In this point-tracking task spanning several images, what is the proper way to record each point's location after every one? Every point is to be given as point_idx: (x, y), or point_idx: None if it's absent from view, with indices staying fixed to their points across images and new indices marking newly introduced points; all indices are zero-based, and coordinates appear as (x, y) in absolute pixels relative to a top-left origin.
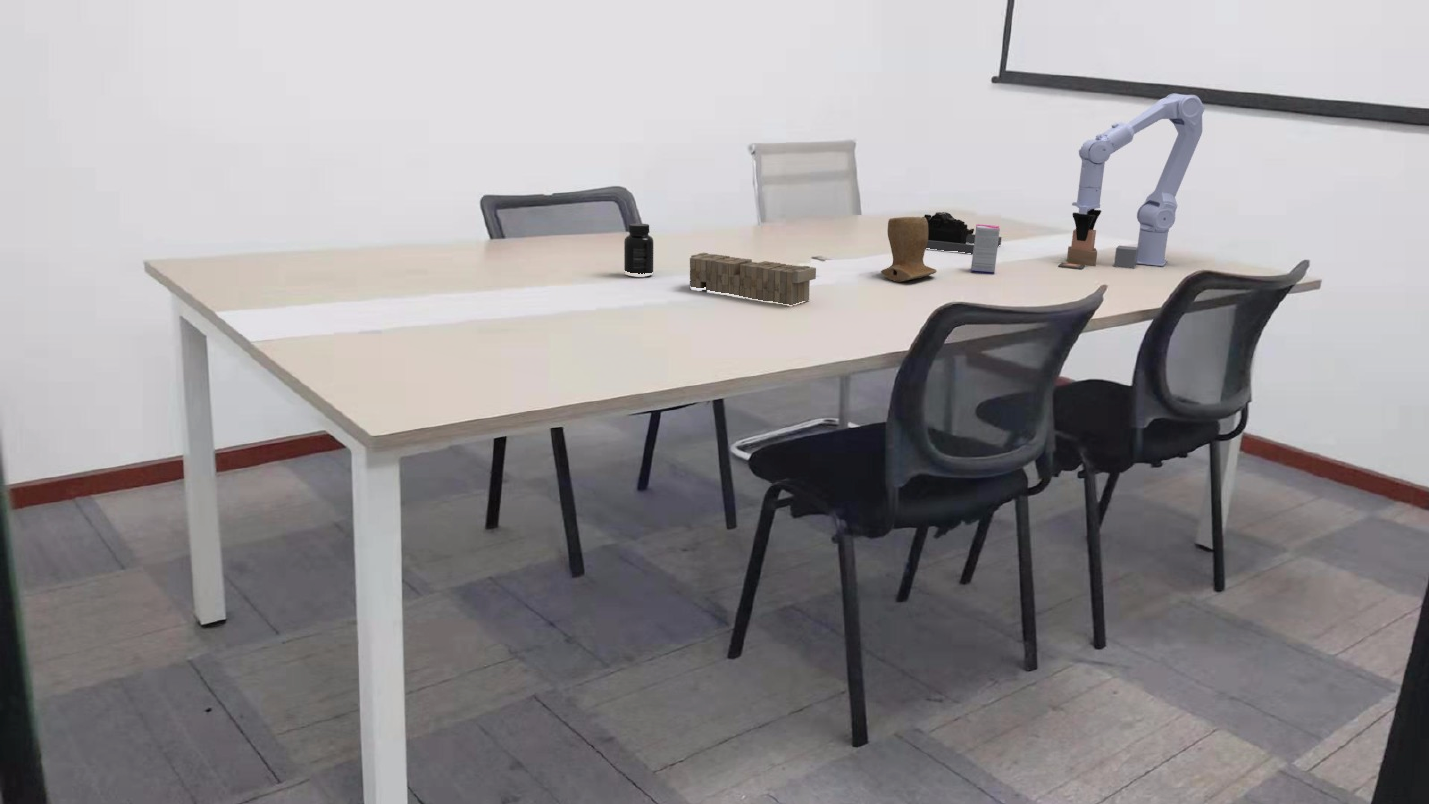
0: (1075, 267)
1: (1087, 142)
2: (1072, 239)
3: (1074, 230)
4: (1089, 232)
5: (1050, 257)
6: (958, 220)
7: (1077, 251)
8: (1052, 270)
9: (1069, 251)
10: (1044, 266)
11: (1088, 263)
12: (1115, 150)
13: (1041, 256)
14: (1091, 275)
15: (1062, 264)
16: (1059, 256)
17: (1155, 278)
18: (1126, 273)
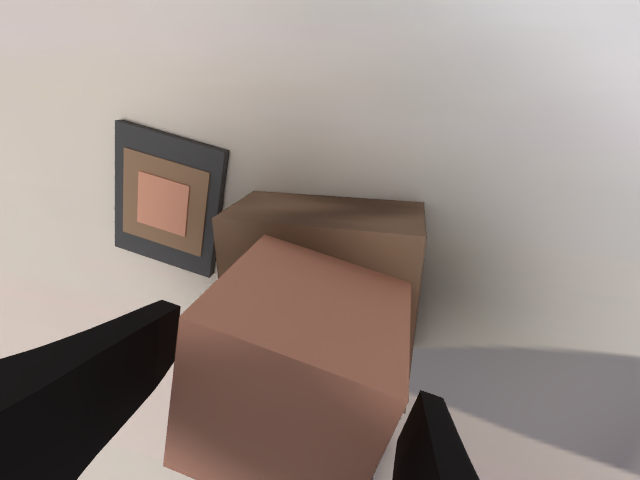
0: (116, 216)
1: None
2: (227, 271)
3: (190, 331)
4: (168, 442)
5: (503, 85)
6: None
7: (219, 269)
8: (7, 80)
9: (216, 215)
10: (99, 30)
11: None
12: None
13: (541, 2)
14: (10, 263)
15: (163, 151)
16: (577, 164)
17: (103, 468)
18: (142, 408)
